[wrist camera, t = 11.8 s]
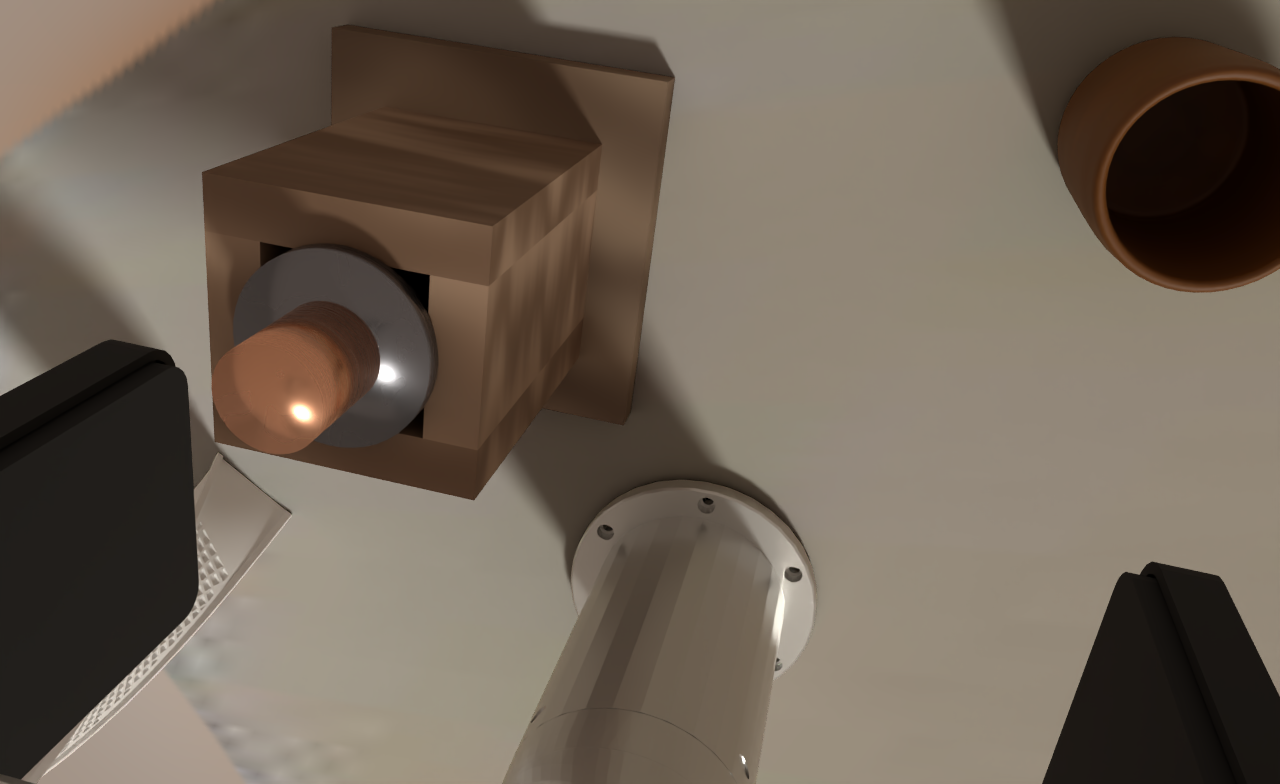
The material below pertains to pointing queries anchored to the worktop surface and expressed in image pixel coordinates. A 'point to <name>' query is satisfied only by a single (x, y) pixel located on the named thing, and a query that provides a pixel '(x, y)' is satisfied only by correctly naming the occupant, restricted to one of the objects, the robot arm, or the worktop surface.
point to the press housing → (466, 234)
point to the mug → (1179, 162)
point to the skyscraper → (226, 549)
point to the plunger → (326, 352)
